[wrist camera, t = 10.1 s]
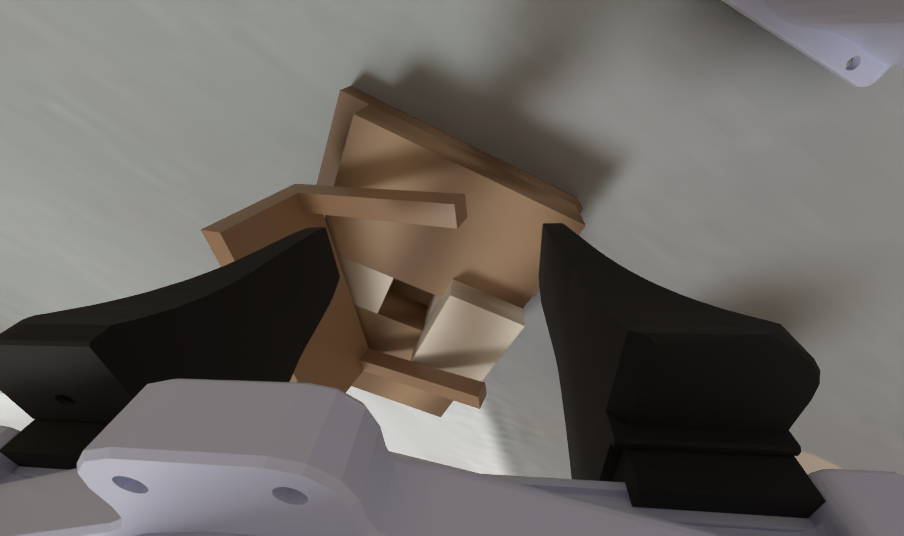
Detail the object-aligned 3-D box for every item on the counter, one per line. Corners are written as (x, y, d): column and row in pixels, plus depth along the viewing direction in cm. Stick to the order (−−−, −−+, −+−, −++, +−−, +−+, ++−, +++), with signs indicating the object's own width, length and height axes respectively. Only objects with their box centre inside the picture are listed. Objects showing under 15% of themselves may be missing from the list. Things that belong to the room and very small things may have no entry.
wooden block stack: (577, 198, 21) (601, 244, 17) (451, 376, 31) (444, 437, 26) (349, 86, 19) (305, 103, 14) (289, 316, 28) (251, 372, 24)
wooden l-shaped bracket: (465, 193, 14) (395, 260, 10) (486, 394, 20) (448, 479, 17) (295, 183, 18) (200, 229, 14) (357, 355, 24) (304, 417, 21)
